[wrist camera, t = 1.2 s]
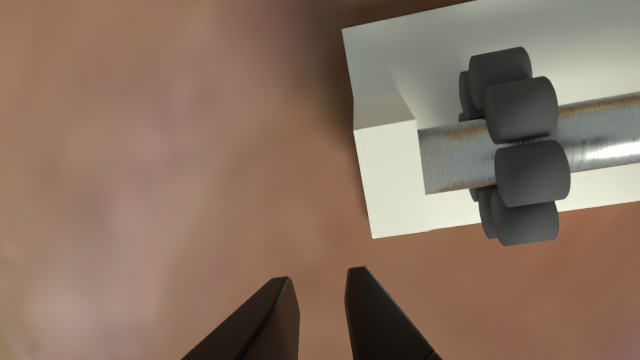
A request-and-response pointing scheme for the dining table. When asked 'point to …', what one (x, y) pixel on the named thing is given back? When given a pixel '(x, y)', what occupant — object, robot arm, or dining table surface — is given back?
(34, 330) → the dining table surface
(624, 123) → the pipe
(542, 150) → the black lobed collar
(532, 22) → the base board
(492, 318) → the dining table surface
